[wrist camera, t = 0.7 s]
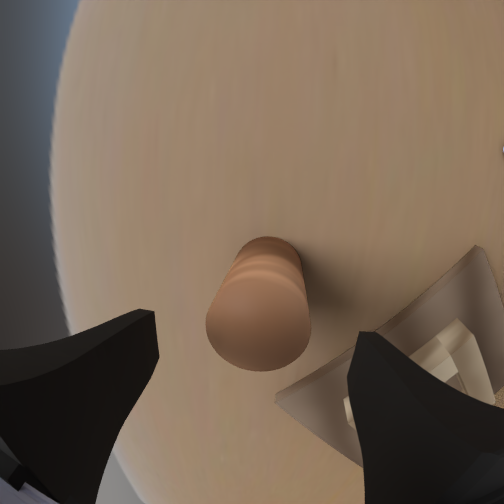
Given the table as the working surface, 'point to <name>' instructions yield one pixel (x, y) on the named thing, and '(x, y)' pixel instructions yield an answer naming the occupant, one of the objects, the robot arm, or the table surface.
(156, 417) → the table surface
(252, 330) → the peg
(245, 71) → the table surface
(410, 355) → the socket
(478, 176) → the table surface
